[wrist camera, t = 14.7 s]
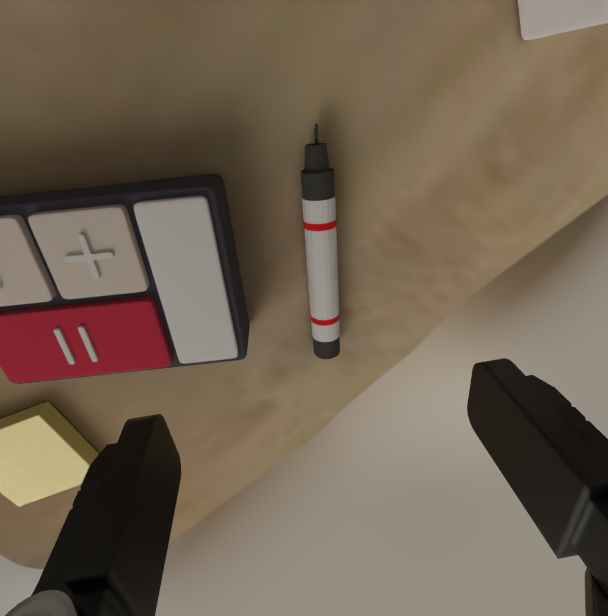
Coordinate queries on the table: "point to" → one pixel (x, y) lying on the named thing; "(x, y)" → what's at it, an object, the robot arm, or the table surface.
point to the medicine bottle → (559, 16)
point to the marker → (321, 248)
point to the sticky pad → (41, 454)
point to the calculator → (119, 280)
